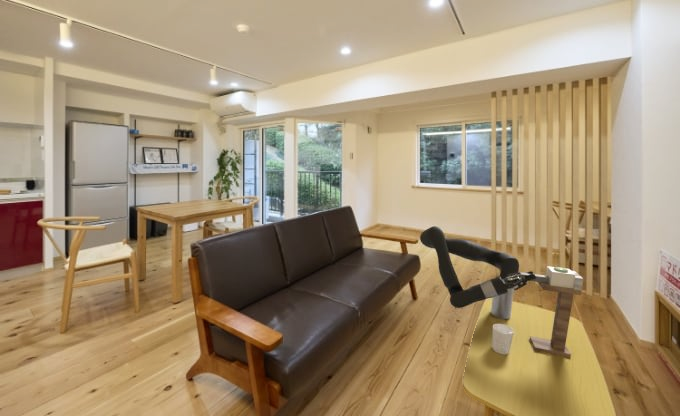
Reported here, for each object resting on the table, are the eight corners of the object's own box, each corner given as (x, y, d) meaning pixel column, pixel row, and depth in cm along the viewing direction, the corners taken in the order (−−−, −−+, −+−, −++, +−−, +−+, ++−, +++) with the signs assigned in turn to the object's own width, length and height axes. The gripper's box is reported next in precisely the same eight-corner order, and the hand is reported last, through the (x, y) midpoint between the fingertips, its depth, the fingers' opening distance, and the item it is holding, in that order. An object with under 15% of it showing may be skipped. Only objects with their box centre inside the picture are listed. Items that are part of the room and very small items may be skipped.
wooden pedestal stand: (529, 338, 139) (539, 266, 133) (562, 345, 135) (574, 270, 129) (534, 350, 130) (545, 274, 124) (570, 357, 126) (583, 278, 120)
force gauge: (518, 275, 135) (519, 261, 134) (566, 282, 129) (569, 267, 128) (521, 281, 129) (523, 267, 128) (573, 288, 123) (575, 273, 122)
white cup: (490, 351, 129) (492, 330, 127) (490, 342, 136) (493, 321, 134) (511, 357, 125) (514, 335, 124) (510, 347, 132) (513, 326, 131)
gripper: (491, 286, 130) (534, 272, 123) (487, 274, 143) (526, 261, 136) (499, 302, 130) (542, 288, 123) (495, 289, 143) (533, 276, 136)
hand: (533, 274), depth 130 cm, fingers closed on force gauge, 2 cm apart
